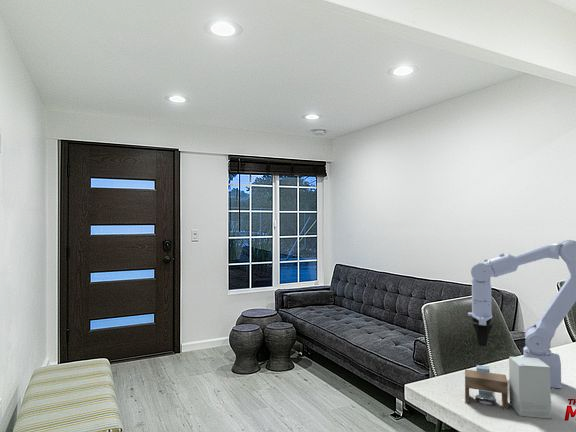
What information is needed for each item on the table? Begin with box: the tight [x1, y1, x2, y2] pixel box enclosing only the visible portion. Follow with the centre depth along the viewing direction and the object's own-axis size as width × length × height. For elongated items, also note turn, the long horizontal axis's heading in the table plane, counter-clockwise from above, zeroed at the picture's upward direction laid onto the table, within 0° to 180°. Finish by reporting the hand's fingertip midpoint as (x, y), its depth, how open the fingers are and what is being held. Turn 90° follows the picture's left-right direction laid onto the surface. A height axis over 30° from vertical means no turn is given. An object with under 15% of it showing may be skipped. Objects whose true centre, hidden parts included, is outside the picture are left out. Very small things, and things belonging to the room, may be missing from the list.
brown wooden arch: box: [464, 368, 509, 410], centre depth 108 cm, size 10×6×7 cm, turn 66°
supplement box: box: [508, 356, 552, 419], centre depth 103 cm, size 7×7×13 cm
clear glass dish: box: [474, 393, 497, 407], centre depth 108 cm, size 5×5×1 cm
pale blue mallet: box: [475, 364, 492, 396], centre depth 118 cm, size 4×16×4 cm, turn 156°
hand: (481, 342), depth 129 cm, fingers open, 6 cm apart
